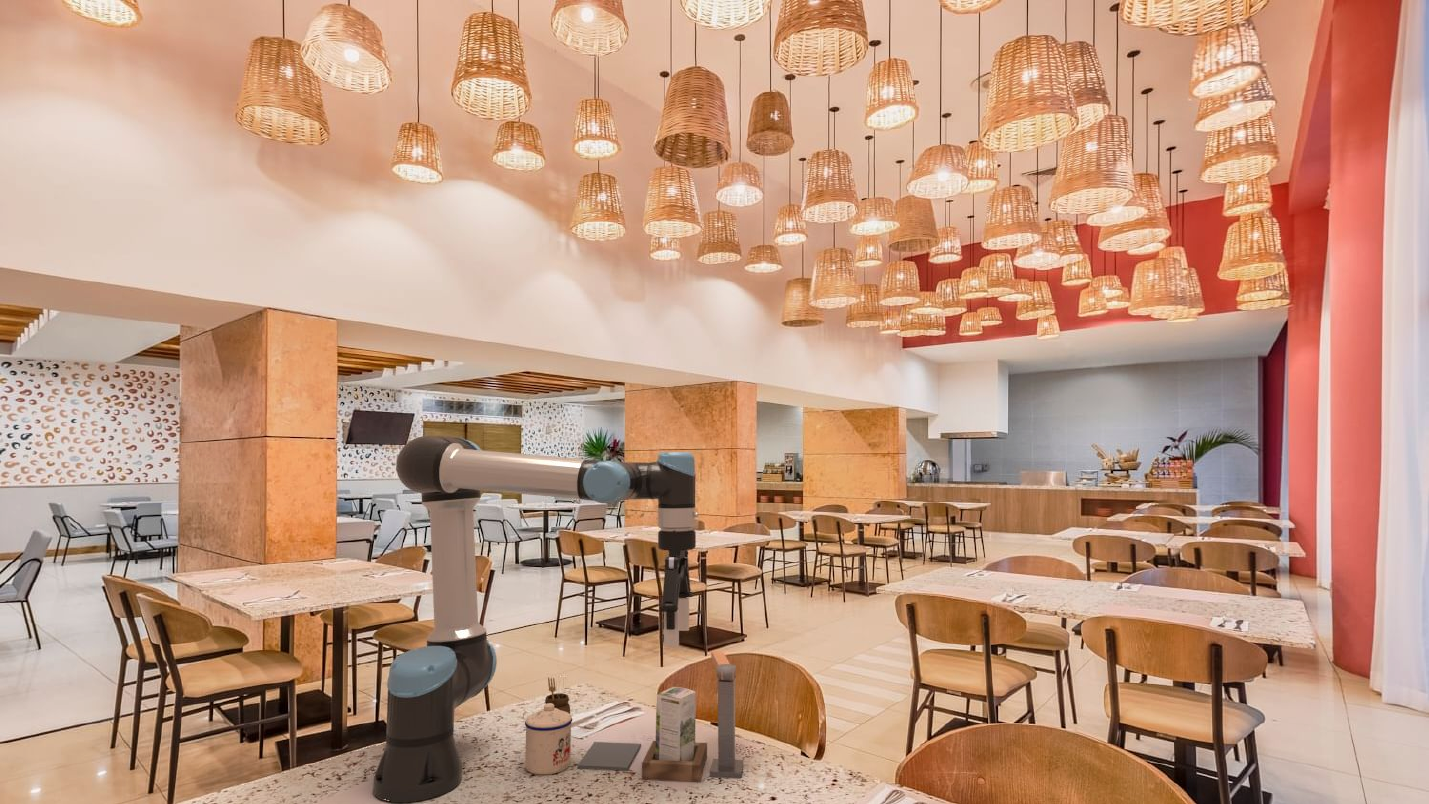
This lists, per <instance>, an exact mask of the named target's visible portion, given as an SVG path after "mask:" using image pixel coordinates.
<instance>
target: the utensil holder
mask: <svg viewBox="0 0 1429 804" xmlns="http://www.w3.org/2000/svg"><path fill="white" fill-rule="evenodd" d="M560 678H561V675H560V676H558V677H557V681H558V680H559V679H560ZM565 679H567V678H566V676H564V675H563V678H562V680H563V683H562V686H564V684H565ZM547 683H548V691H549V692H550V693H551V694H548V695H547V696H546V697H545V699H544V704H548V703H552V704H554V708H557V709H559V710H561V711H565V712H568V713H569V714H570V715H571V706H570V705H571V704H569V701H570V697H569V695H568V694H566V693H563V692H564V690H566V689H567V687H565V689H562V690H561V692H558V689H557V686H558V687H560V685H561V684H560V683H561V681H558V683H559V685H557V684H558V683H556V681H555V678H554V677H553V678H552V677H547ZM555 692H556V693H555Z"/></svg>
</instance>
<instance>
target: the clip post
mask: <svg viewBox="0 0 1429 804" xmlns="http://www.w3.org/2000/svg"><path fill="white" fill-rule="evenodd" d="M717 688H718V689H717V692H718V693H717V695H718V696H717V698H718V699H717V713H718V714H717V718H718V719H717V721H718V722H717V723H718V724H717V732H718V733H717V736H718V737H717V738H718V739H717V741H718V744H717V746H718V747H717V753H718V754H717V755H718V756H717V758H712V761H711V764H710V768H709V777H710V778H724V779H725V778H729V779H730V778H731V779H742V776H743V771H744V759H736V678H735V679H731V680H722V679H719V678H718V681H717Z"/></svg>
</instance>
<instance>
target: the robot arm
mask: <svg viewBox="0 0 1429 804" xmlns="http://www.w3.org/2000/svg"><path fill="white" fill-rule="evenodd" d="M395 469H396V474H397V476H398V479H399V481H400V482H401V483H402V484H403V486H404V487H405V488H407V489H409V490H410V491H412V492H414V493H418V494H421V505H422V506H424V507H425V508H426V510H428V511H429V519H430V521H429V522H430V524H429V525H430V544H431V545H430V547H431V572H432V573H431V575H432V577H431V578H432V598H433V599H432V601H433V602H432V603H433V626H434V627H433V630H432V631H431V632H430V633H429V634H428V635H427V637H426V646H422V647H418V648H417V649H410V650H408V651H406V652H404V653H401V654H400V655H398V656H396V658H394V659H393V661H392V663H391V664H390V667H389V669H388V670H389V671H388V674H389V675H388V678H387V683H386V686H387V702H386V703H387V704H386V733H385V734H386V735H385V746H384V749H383V753H382V755H381V757H380V761H379V763H378V766H377V769H376V771H375V774H374V776H373V777H374V778H373V788H372V793H373V795H374V794H375V795H376V796H377V797H379V798H381V799H386V800H389V801H394V802H393V803H412V802H420V801H425V800H429V798H430V799H433V798H436V797H439V796H441V795H445V794H447V793H448V792H450V791H452V790H454V789H455V788H456V787H458V786H459V785H460V783H462V779H463V764H462V760H461V757H460V753H459V751H458V750H459V749H458V747H457V744H456V740H455V736H454V734H455V733H454V731H455V729H454V727H455V709H456V708H458V707H459V706H461V705H462V704H463V703H465V702H467V701H469V700H470V699H472V698H474V697H476V696H477V695H479V694H480V693H481V692H482V691H484V689H485V688H486V687H487V686H488V685H489V684H490V683H491V681H492V680H493V678H494V676H495V672H496V670H497V663H498V661H497V654H496V651H495V648H494V646H493V645H492V644H490V642H489V640H488V639H487V628H485V626H484V625H482V624H480V622H479V610H478V607H479V606H478V588H477V587H478V585H477V584H478V583H477V565H476V563H477V562H476V540H475V523H474V522H475V521H474V518H475V517H474V507H475V506H476V505H477V503H478V502H479V501H480V500H481V491H484V492H485V491H488V492H495V493H496V492H499V493H509V494H517V495H518V494H520V495H531V496H541V497H542V496H543V497H551V498H561V499H562V498H564V499H574V500H585V501H592V502H593V501H595V502H597V503H600V504H614V503H617V502H622V501H628V500H633V501H634V500H657V502H658V504H657V527H658V528H659V529H660V530H659V531H658V532H657V547H658V549H659V550H661V551H668V557H667V556H665V559H664V578H663V589H662V602H661V603H662V604H661V606H659V612H662V613H663V647H664V648H679V647H680V631H682V632H683V631H684V632H689V631H690V598H693V596H694V595H693V591H692V589H691V580H690V567H689V552H688V551H691V550H694V549H696V547H697V546H696V545H697V544H696V542H697V539H696V537H697V536H696V535H697V533H696V531H695V529H693V528H695V527H696V518H698V517H699V513H698V512H697V511H696V478H697V477H696V476H697V474H696V465H695V456H694V455H693V454H692V453H691V452H689V451H688V452H687V451H670V452H667V451H666V452H660V453H658V455H657V459H656V461H650V462H634V461H633V462H632V461H631V462H629V461H627V462H626V461H624V462H623V461H613V460H597V459H584V458H576V457H575V458H572V457H562V456H548V455H540V454H539V455H538V454H526V453H525V454H524V453H517V452H504V451H502V452H501V451H493V450H491V451H490V450H482V449H481V448H480V446H478V444H476V443H474V442H473V441H470V440H467V439H464V438H462V437H451V436H450V437H449V436H437V435H422V436H418V437H416V438H414V439H412V440H410V441H408V442H407V443H406V444H405V445H404V446H403V447H402V448H401V449H400V451H399V452H398V454H397V459H396V462H395ZM375 795H374V796H375ZM376 796H375V797H376ZM377 797H376V798H377ZM379 798H378V799H379ZM381 799H380V800H381ZM389 801H388V802H389Z"/></svg>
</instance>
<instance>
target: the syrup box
mask: <svg viewBox="0 0 1429 804" xmlns="http://www.w3.org/2000/svg"><path fill="white" fill-rule="evenodd" d="M696 698H697V692H696V691H695V690H692V689H689V688H685V687H680V686H672V687H670V688H668V689H665V690H663V691H661V692H659V693H657V694H656V709H655V710H656V712H655V713H656V715H655V720H656V721H655V741H656V750H655V760H666V761H689V762H693V761H694V758H695V742H696V714H697V713H696V712H697V711H696V708H697V707H696V704H697V703H696V702H697V701H696V700H697V699H696Z"/></svg>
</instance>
